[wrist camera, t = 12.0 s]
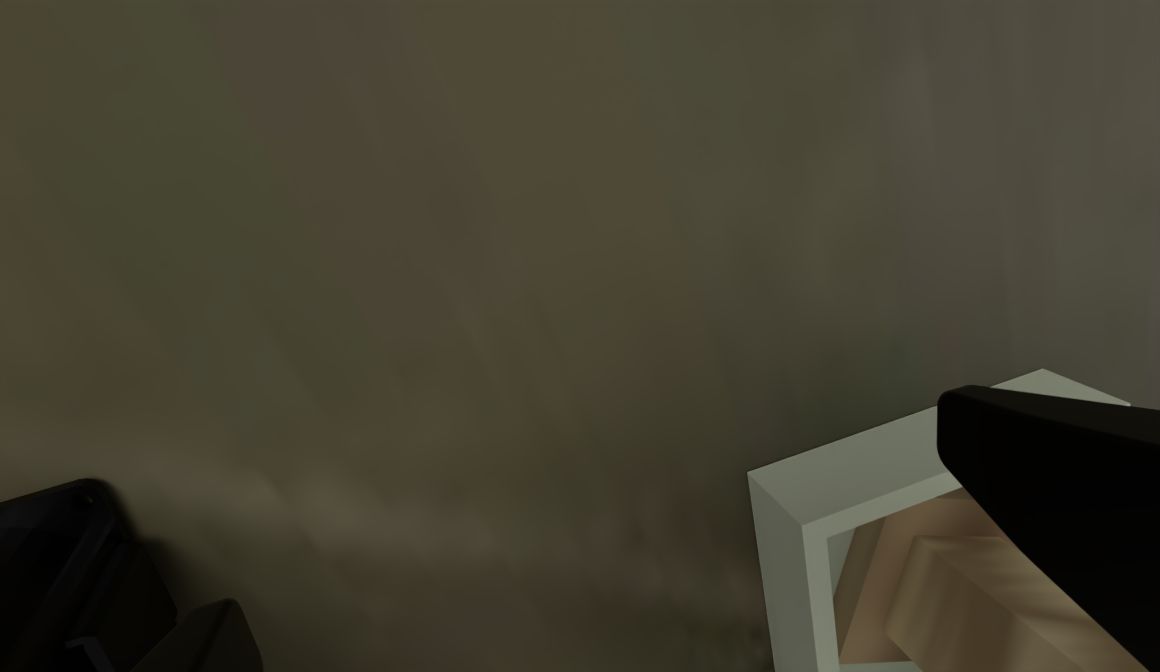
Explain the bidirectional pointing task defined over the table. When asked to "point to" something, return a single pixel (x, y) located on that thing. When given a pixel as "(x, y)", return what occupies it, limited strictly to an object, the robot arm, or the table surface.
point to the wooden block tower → (960, 599)
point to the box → (848, 519)
